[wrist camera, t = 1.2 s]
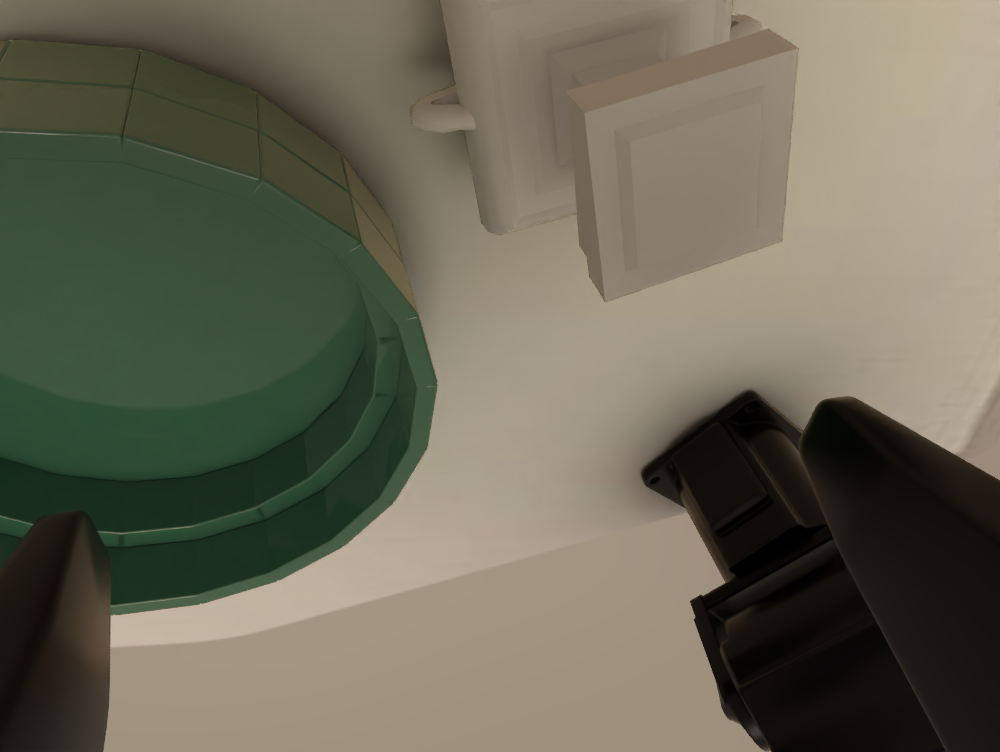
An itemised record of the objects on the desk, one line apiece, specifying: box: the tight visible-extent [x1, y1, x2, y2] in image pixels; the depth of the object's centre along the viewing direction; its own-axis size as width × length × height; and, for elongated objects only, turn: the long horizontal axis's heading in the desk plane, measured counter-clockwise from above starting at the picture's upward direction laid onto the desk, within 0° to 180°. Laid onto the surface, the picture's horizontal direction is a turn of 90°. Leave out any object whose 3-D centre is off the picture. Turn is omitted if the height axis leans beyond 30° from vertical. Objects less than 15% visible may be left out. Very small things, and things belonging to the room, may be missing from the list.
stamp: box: [410, 0, 799, 302], centre depth 17 cm, size 9×7×8 cm
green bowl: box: [0, 39, 437, 615], centre depth 20 cm, size 16×16×5 cm
